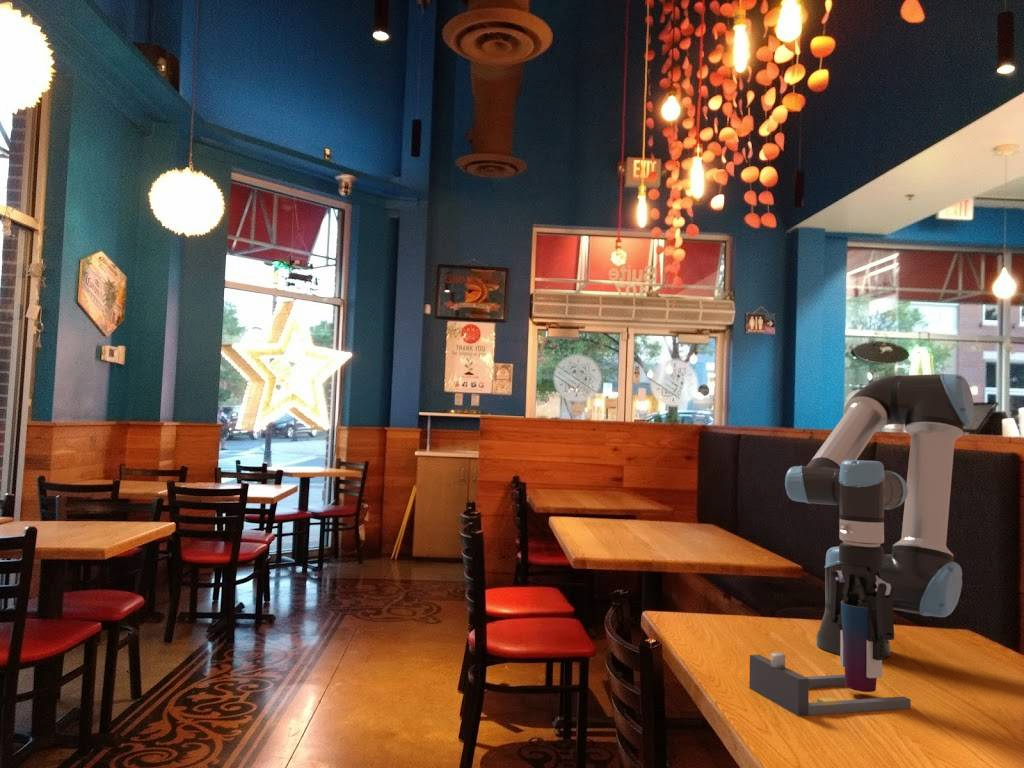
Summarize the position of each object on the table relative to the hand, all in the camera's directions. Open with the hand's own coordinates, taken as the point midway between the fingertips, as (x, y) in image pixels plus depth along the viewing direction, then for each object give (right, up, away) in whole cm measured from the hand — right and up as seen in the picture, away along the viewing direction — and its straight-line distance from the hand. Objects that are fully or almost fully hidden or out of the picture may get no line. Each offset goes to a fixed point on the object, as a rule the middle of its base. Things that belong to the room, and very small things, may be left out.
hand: (860, 671), depth 135 cm
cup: (0, -3, 0) cm, 3 cm away
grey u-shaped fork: (-7, -4, -2) cm, 9 cm away
